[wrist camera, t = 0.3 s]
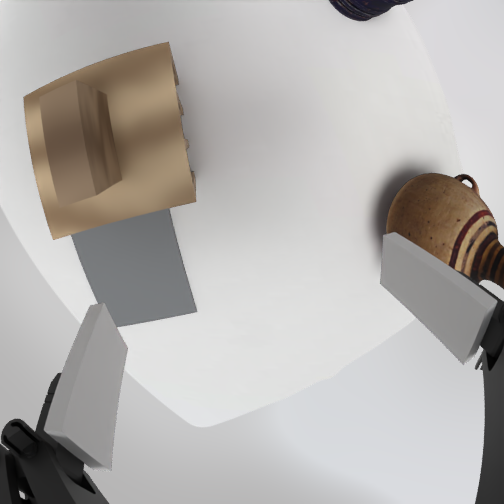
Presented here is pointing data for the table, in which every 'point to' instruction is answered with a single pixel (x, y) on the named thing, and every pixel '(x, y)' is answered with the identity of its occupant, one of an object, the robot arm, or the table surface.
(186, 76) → the table surface
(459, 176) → the vase
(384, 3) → the dark blue cylinder
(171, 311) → the mat
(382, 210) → the table surface
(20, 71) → the table surface
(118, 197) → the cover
